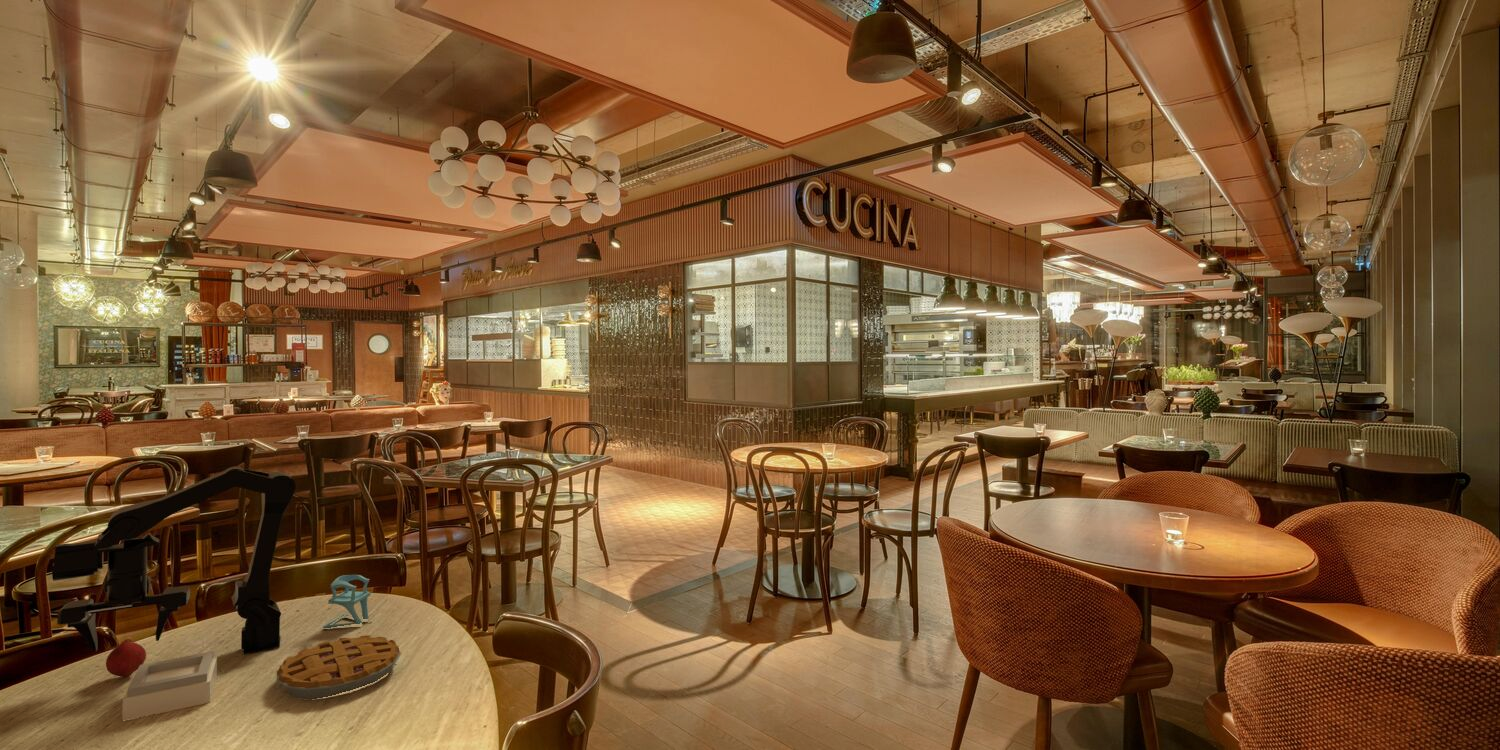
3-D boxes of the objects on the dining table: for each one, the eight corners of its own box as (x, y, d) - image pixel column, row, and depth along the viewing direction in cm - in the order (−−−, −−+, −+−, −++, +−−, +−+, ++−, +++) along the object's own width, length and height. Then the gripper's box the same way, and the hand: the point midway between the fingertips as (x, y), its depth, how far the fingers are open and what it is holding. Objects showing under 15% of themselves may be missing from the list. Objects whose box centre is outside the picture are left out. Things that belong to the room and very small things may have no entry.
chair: (356, 631, 153) (357, 582, 153) (322, 630, 154) (323, 581, 153) (375, 618, 161) (376, 572, 161) (342, 617, 161) (344, 570, 161)
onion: (120, 686, 126) (120, 646, 126) (97, 682, 127) (98, 642, 127) (153, 672, 131) (153, 634, 131) (131, 668, 132) (131, 631, 132)
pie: (415, 677, 133) (416, 653, 132) (289, 718, 117) (289, 691, 116) (381, 643, 147) (381, 622, 147) (265, 676, 131) (265, 652, 131)
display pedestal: (216, 676, 130) (217, 649, 130) (209, 702, 121) (210, 673, 121) (136, 692, 123) (137, 664, 123) (122, 721, 114) (122, 691, 114)
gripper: (193, 552, 141) (193, 621, 141) (73, 566, 130) (73, 641, 130) (186, 566, 132) (185, 640, 132) (56, 582, 121) (56, 663, 121)
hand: (127, 645), depth 129 cm, fingers open, 9 cm apart
